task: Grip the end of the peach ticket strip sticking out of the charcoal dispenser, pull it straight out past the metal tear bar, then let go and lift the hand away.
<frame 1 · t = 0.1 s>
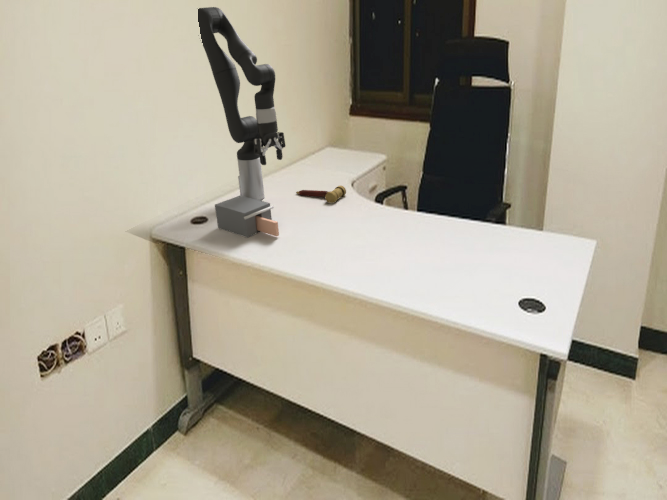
hand: (271, 162, 219), 17 cm above the table, tool pointing down, fingers open, 8 cm apart
dispenser: (245, 227, 204), on the table
gavel: (318, 198, 232), on the table
ticket strip: (254, 222, 200), point 3 cm above the table, slide at 0.0 cm
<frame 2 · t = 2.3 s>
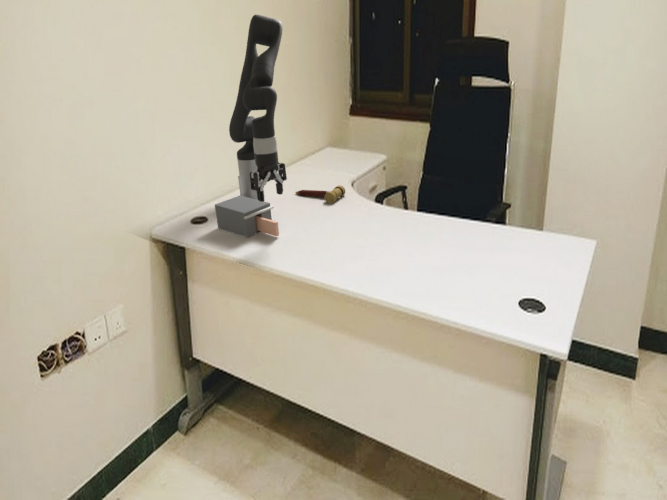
hand: (270, 197, 190), 14 cm above the table, tool pointing down, fingers open, 8 cm apart
nothing on the table moved.
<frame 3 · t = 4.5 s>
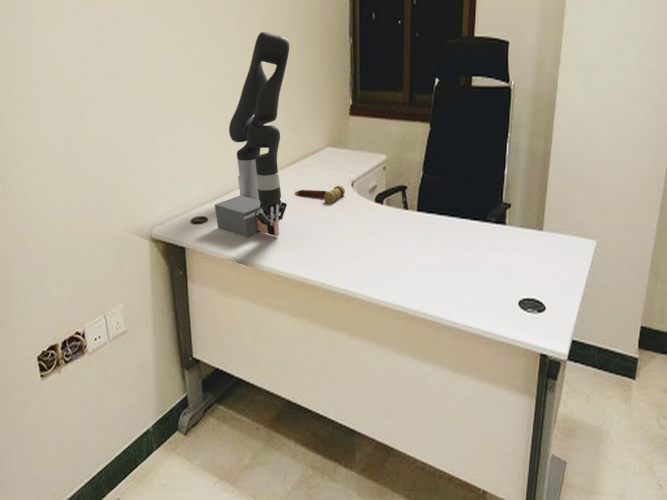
hand: (273, 233, 195), 1 cm above the table, tool pointing down, fingers closed
ticket strip: (254, 222, 200), point 3 cm above the table, slide at 0.0 cm, touching gripper
everything else where it was.
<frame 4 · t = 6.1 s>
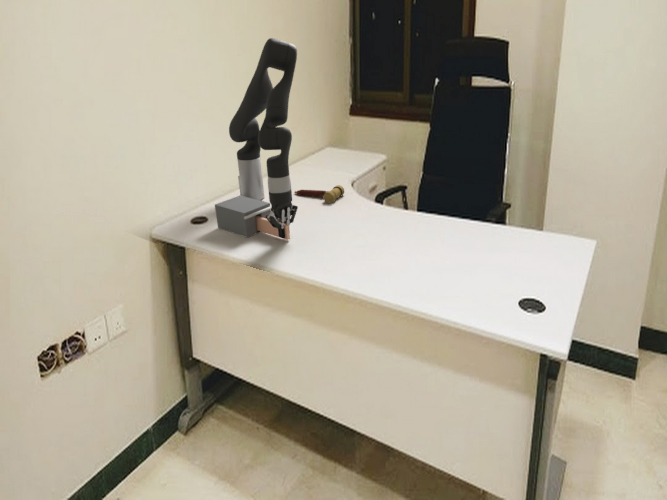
hand: (284, 236, 192), 1 cm above the table, tool pointing down, fingers closed
ticket strip: (264, 225, 197), point 3 cm above the table, slide at 5.3 cm, touching gripper
everything else where it was.
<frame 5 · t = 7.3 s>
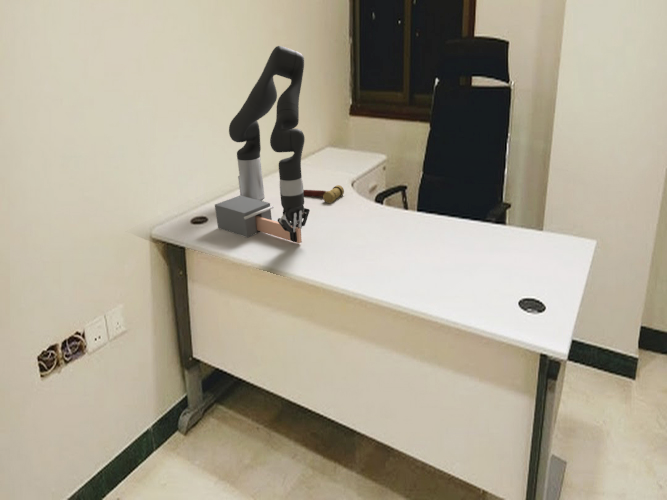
hand: (296, 240, 188), 1 cm above the table, tool pointing down, fingers closed
ticket strip: (275, 228, 193), point 3 cm above the table, slide at 10.8 cm, touching gripper
everything else where it was.
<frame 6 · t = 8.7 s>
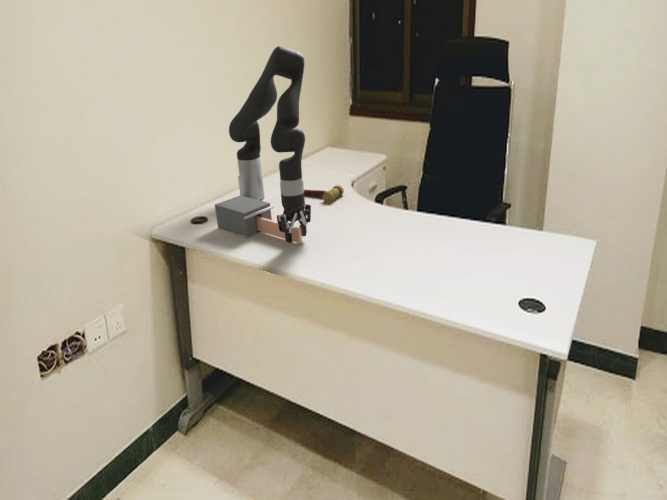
hand: (296, 238, 188), 2 cm above the table, tool pointing down, fingers open, 6 cm apart
ticket strip: (276, 228, 193), point 3 cm above the table, slide at 11.0 cm
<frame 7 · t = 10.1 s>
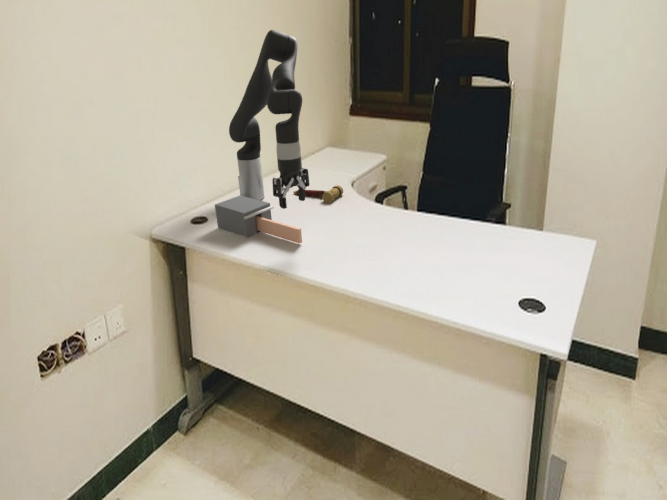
hand: (292, 204, 183), 14 cm above the table, tool pointing down, fingers open, 8 cm apart
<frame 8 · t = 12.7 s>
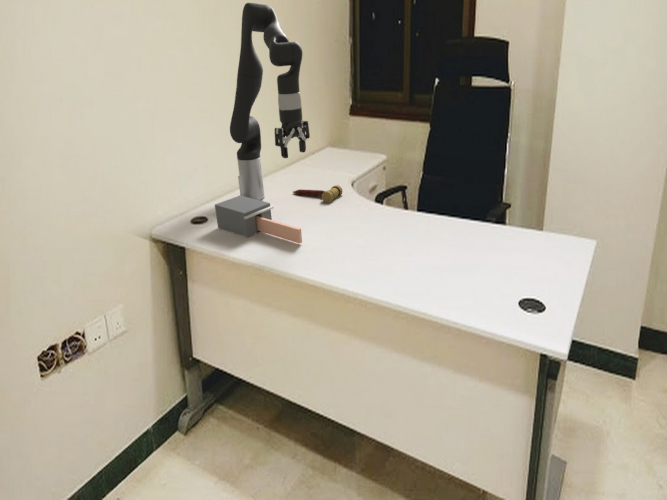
hand: (294, 154, 192), 26 cm above the table, tool pointing down, fingers open, 8 cm apart
at the end: ticket strip slide at 11.0 cm; the gripper is holding nothing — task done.
